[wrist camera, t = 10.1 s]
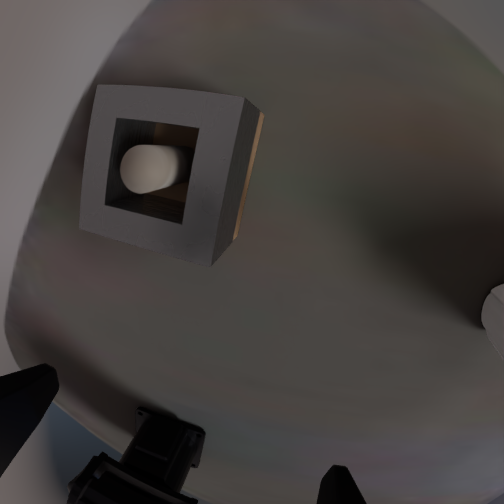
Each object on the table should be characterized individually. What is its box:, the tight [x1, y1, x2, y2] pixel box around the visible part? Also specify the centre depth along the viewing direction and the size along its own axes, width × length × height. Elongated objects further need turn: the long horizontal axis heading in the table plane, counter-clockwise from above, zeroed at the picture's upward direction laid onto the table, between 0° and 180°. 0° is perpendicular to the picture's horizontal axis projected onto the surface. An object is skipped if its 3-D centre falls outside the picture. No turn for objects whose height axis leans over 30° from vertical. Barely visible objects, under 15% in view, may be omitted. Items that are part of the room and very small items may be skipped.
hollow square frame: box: [79, 85, 261, 267], centre depth 14 cm, size 7×7×4 cm
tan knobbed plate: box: [120, 112, 264, 240], centre depth 15 cm, size 7×7×6 cm
